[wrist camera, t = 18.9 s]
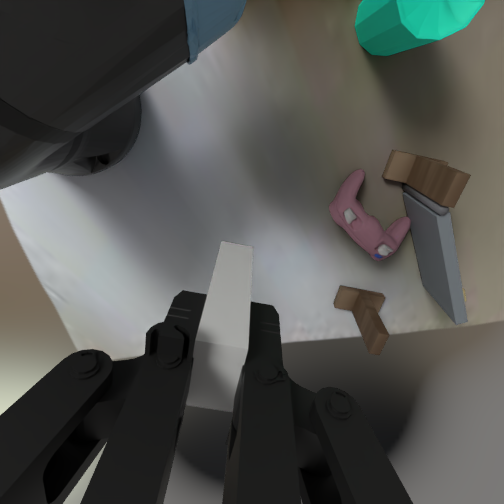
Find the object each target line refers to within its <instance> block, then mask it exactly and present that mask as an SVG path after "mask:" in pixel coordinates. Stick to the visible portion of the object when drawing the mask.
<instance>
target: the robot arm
mask: <svg viewBox="0 0 504 504" xmlns="http://www.w3.org/2000/svg"><path fill="white" fill-rule="evenodd" d="M245 4H246V0H0V189H3V188H6V187H9V186H11V185H14V184H17V183H19V182H22V181H25V180H28V179H30V178H33V177H36V176H38V175H41V174H44V173H46V172H49V173H55V174H62V175H70V176H83V175H90V174H94V173H97V172H100V171H103V170H105V169H107V168H109V167H111V166H113V165H115V164H116V163H118V162H119V161H120V160H122V159H123V158H124V157H125V156H126V155H127V153H128V152H129V151H130V149H131V148H132V146H133V144H134V143H135V140H136V138H137V135H138V132H139V128H140V122H141V102H140V95H139V94H141V93H142V92H143V91H145V90H146V89H148V88H149V87H151V86H152V85H154V84H155V83H157V82H158V81H160V80H161V79H162V78H164V77H165V76H167V75H168V74H170V73H171V72H173V71H174V70H176V69H177V68H178V67H180V66H181V65H183V64H184V63H186V62H187V63H188V64H189V65H190V64H192V63H193V62H195V61H196V60H197V57H198V54H199V53H200V52H201V51H203V50H204V49H205V48H207V47H208V46H209V45H211V44H212V43H213V42H215V41H216V40H217V39H219V38H220V37H221V36H222V35H224V34H225V33H226V32H228V31H229V30H230V29H231V28H233V27H234V26H235V24H236V23H237V22H238V21H239V19H240V17H241V16H242V13H243V10H244V7H245ZM252 264H253V247H251V246H246V245H241V244H236V243H230V242H225V241H221V245H220V248H219V252H218V256H217V260H216V264H215V267H214V271H213V275H212V279H211V283H210V286H209V290H208V294H207V295H206V294H200V293H195V292H189V291H184V290H183V291H182V292H180V293H179V294H178V295H177V296H175V297H174V299H173V302H172V304H171V307H170V309H169V311H168V314H167V316H166V318H165V321H164V322H161V323H158V324H156V325H154V326H152V327H151V328H150V329H149V330H148V332H147V333H146V345H145V354H144V355H142V356H140V357H137V358H135V359H129V360H121V361H112V360H111V358H110V356H109V355H108V354H106V353H104V352H103V351H99V350H94V349H90V350H81V351H78V352H76V353H73V354H71V355H69V356H68V357H66V358H65V359H63V360H62V361H61V362H60V363H59V364H58V365H56V366H55V367H54V368H53V369H52V370H51V371H50V372H49V373H47V374H46V375H45V376H44V377H43V378H42V379H41V380H40V381H38V382H37V383H36V384H35V385H34V386H33V387H32V388H31V389H29V390H28V391H27V392H26V393H25V394H24V395H23V396H22V397H21V398H20V399H18V400H17V401H16V402H15V403H14V404H13V405H12V406H10V407H9V408H8V409H7V410H6V411H5V412H4V413H3V414H1V415H0V504H63V502H64V501H65V499H66V498H67V497H68V495H69V494H70V493H71V491H72V489H73V488H74V487H75V486H76V484H77V483H78V481H79V480H80V479H81V477H82V476H83V474H84V473H85V472H86V470H87V469H88V467H89V466H90V465H91V463H92V462H93V460H94V459H95V457H96V456H97V455H98V453H99V452H100V451H101V449H102V448H103V446H104V445H105V443H106V442H107V444H106V446H105V448H104V451H103V453H102V455H101V457H100V460H99V462H98V464H97V467H96V469H95V471H94V474H93V476H92V478H91V480H90V483H89V485H88V487H87V490H86V492H85V494H84V496H83V499H82V501H81V503H80V504H163V502H164V498H165V494H166V490H167V485H168V481H169V477H170V472H171V468H172V464H173V460H174V455H175V451H176V447H177V443H178V438H179V434H180V429H181V425H182V421H183V415H184V409H185V405H189V406H196V407H203V408H209V409H215V410H222V411H229V412H232V410H233V418H232V422H231V425H230V429H229V433H228V437H227V441H226V445H228V450H227V461H226V471H225V481H224V482H225V483H224V492H223V502H222V504H301V499H302V503H303V504H413V502H412V501H411V499H410V497H409V495H408V493H407V492H406V490H405V488H404V486H403V484H402V482H401V481H400V479H399V477H398V475H397V473H396V472H395V470H394V468H393V466H392V464H391V463H390V461H389V459H388V457H387V455H386V454H385V452H384V450H383V448H382V446H381V445H380V443H379V441H378V439H377V437H376V435H375V434H374V432H373V430H372V428H371V426H370V425H369V423H368V421H367V419H366V418H365V415H364V414H363V412H362V410H361V408H360V406H359V405H358V404H357V402H356V401H355V400H354V398H353V397H351V396H350V395H349V394H348V393H346V392H345V391H342V390H340V389H338V388H332V387H327V388H322V389H321V390H320V391H318V392H317V393H314V392H312V391H310V390H307V389H305V388H303V387H301V386H299V385H298V384H296V383H295V382H294V381H292V380H291V379H290V378H289V376H288V373H287V371H286V370H285V369H284V367H283V361H282V348H281V335H280V326H279V325H280V323H279V314H278V313H277V311H276V310H275V308H274V306H272V305H267V304H261V303H256V302H251V284H252ZM300 496H301V497H300Z"/></svg>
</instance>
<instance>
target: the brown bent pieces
mask: <svg viewBox="0 0 504 504" xmlns="http://www.w3.org/2000/svg"><path fill="white" fill-rule="evenodd" d="M447 165H448V162H445V161H441V160H437V159H432V158H428V157H423V156H419V155H414V154H410V153H405V152H400V151H396V150H392V152H391V154H390V157H389V160H388V162H387V165H386V168H385V170H384V173H383V175H382V177H384V178H385V179H390V180H394V181H399V182H404V183H407V184H408V185H410V186H411V187H413V188H415V189H416V190H418V191H419V192H421V193H423V194H424V195H426V196H427V197H429V198H431V199H432V200H434V201H435V202H437V203H439V204H440V205H442V206H447V207H452V208H454V207H455V205H456V203H457V201H458V199H459V197H460V195H461V193H462V191H463V189H464V187H465V185H466V183H467V181H468V179H469V178H470V176H471V175H469V174H467V173H464V172H462V171H459V170H457V169H454V168H451V167H449V166H447ZM384 299H385V297H384V295H383V294H382V293H377V292H372V291H367V290H361V289H356V288H351V287H346V286H340V287H339V290H338V293H337V295H336V298H335V300H334V303H333V304H334V307H335V308H339V309H344V310H350V311H352V313H353V315H354V318H355V320H356V322H357V325H358V327H359V330H360V332H361V335H362V337H363V340H364V342H365V344H366V347H367V349H368V352H369V353H370V354H375V355H380V353H381V351H382V349H383V347H384V345H385V343H386V341H387V339H388V337H389V334H388V332H387V330H386V328H385V326H384V324H383V322H382V320H381V318H380V316H379V315H378V312H379V310H380V308H381V306H382V304H383V302H384Z"/></svg>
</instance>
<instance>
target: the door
mask: <svg viewBox="0 0 504 504" xmlns="http://www.w3.org/2000/svg"><path fill="white" fill-rule="evenodd" d="M402 189H403V190H404V191H406V192H404V193H403V197H404V202H405V206H406V211H407V215H408V218H409V219H410V220H411V225H410V229H411V233H412V238H413V242H414V247H415V251H416V256H417V260H418V264H419V269H420V273H421V278H422V282H423V286H424V287H425V288H426V290H427V291H428V292H429V293H430V294H431V296H432V297H433V298H434V299H435V300H436V302H437V303H438V304H439V305H440V306H441V307H442V309H443V310H444V311H445V312H446V313H447V315H448V316H449V317H450V318H451V319H452V321H453V322H454V323H455V324H456V325H458V324H461V323H465V322H468V321H467V314H466V308H465V301H466V295H465V290H464V289H463V288H462V284H461V277H460V271H459V265H458V259H457V253H456V247H455V240H454V234H453V228H452V222H451V216H450V212H449V208H448V207H447V206H442V205H440V204H439V203H437V202H435V201H434V200H432V199H431V198H429V197H427V196H426V195H424V194H423V193H421V192H419V191H418V190H416V189H415V188H413V187H411V186H410V185H408V184H407V183H404V184H403V186H402Z"/></svg>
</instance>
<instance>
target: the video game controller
mask: <svg viewBox="0 0 504 504" xmlns="http://www.w3.org/2000/svg"><path fill="white" fill-rule="evenodd" d="M364 177H365V172H364V170H362V169H359V170H356V171H354V172H353V173H351V174H350V175H349V176H348V177H347V179H346V180H345V181H344V182H343V184H342V185H341V187H340V188H339V190H338V192H337V195H336V197H335V199H334V200H333V201H332V202H331V203H330V205H329V210H330V213H331V216H332V218H333V220H334V221H335V222H336V223H337V224H338V225H339V226H341V227H343V228H344V229H345V231H346V232H347V233H348V234H349V235H350V237H351V238H352V239H353V240H354V241H355V242H356V243H357V244H358V245H359V246H361V247H362V248H363V249H364V250H365V251H367V252H368V253H369V254H370V256H371V257H372V258H373V259H374V260H376V261H381V260H383V259H385V258H388V257H389V256H391V255H392V254H393V253H395V252H396V251H397V249H398V248H399V246H400V244H401V242H402V241H403V239H404V237H405V236H406V234H407V232H408V230H409V228H410V225H411V220H410V219H409V218H408V217H401V218H400V219H397V220H396V221H395V222H393V223H392V224H391V225H390V227H389V228H388V229H387V230H386V231H384V230H383V228H382V226H381V225H380V223H379V221H378V220H377V219H376V218H375V217H374V216H369V215H368V214H367V213H366V212H365V211H364V208H363V206H362V204H361V203H360V202H359V201H358V200H357V199H356V196H357V193H358V190H359V188H360V186H361V184H362V182H363V180H364Z"/></svg>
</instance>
